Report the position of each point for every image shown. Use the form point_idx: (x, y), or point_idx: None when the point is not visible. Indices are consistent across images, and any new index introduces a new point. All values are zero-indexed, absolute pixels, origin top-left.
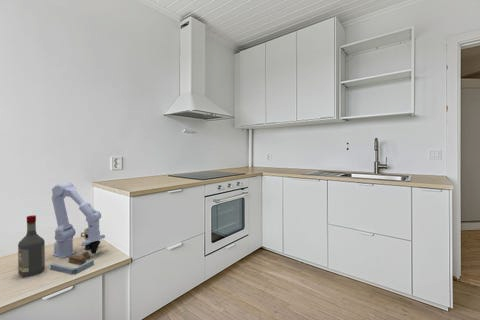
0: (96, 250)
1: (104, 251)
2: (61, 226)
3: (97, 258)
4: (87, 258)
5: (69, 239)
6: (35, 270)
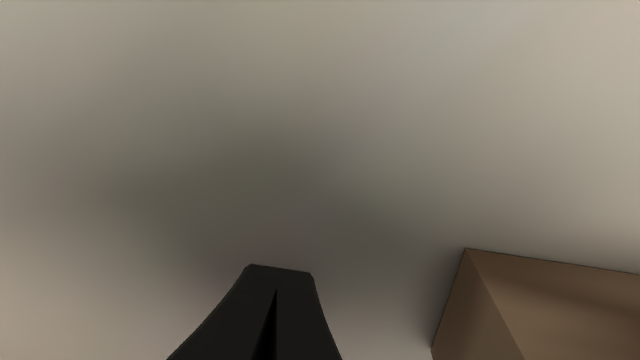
0: (235, 299)
1: (2, 164)
2: None
3: (462, 32)
4: (538, 270)
5: None
6: None
